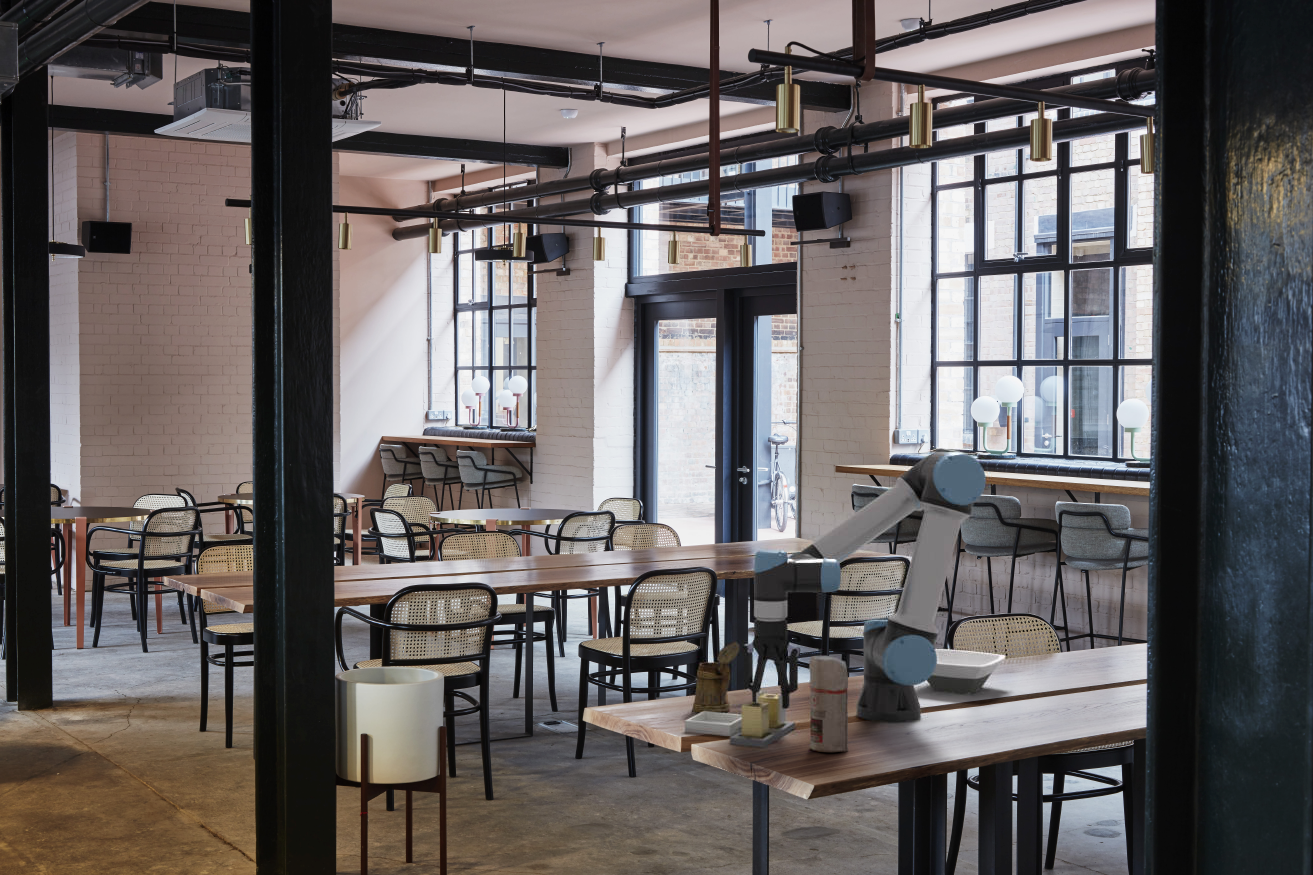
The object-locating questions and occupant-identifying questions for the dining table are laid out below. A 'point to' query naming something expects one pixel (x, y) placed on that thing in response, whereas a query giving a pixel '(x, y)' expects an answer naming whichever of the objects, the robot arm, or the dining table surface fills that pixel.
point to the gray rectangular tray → (760, 742)
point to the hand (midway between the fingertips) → (770, 721)
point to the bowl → (963, 670)
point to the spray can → (828, 704)
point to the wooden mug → (715, 682)
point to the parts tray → (714, 723)
